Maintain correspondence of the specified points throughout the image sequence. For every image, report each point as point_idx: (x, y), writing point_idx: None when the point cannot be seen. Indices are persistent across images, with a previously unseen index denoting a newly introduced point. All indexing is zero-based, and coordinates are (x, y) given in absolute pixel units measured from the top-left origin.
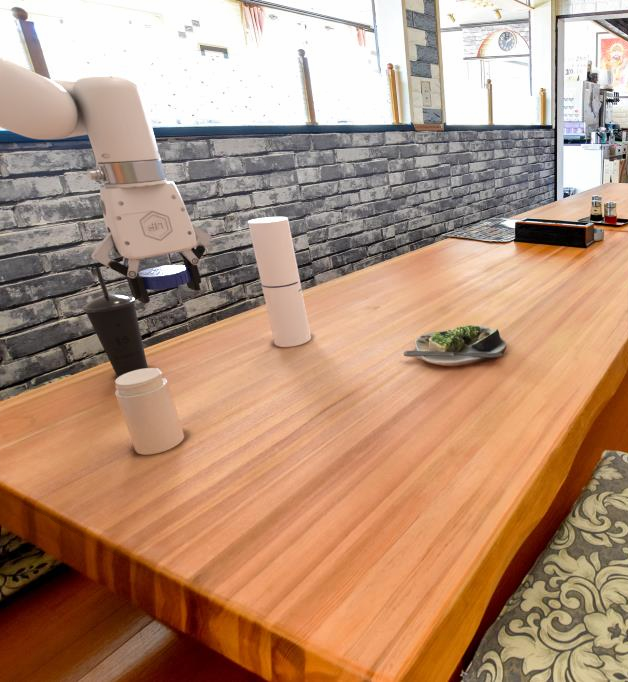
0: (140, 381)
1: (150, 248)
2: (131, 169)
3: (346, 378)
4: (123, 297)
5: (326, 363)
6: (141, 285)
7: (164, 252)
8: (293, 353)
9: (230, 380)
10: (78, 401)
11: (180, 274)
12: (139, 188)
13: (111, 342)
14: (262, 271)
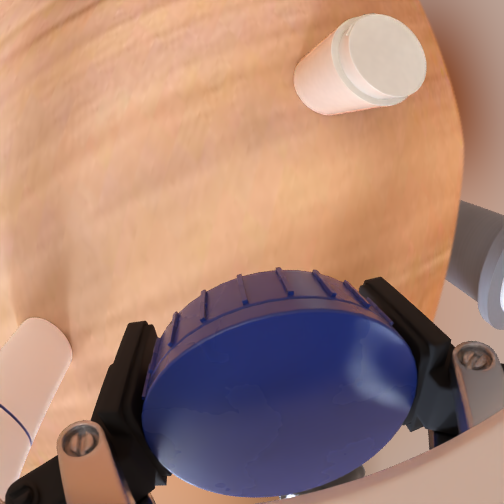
0: (389, 20)
1: (489, 501)
2: None
3: (12, 103)
4: (301, 493)
5: (12, 195)
6: (418, 316)
7: (327, 502)
8: (47, 288)
9: (166, 248)
10: None
11: (205, 326)
12: None
13: None
14: (6, 449)
